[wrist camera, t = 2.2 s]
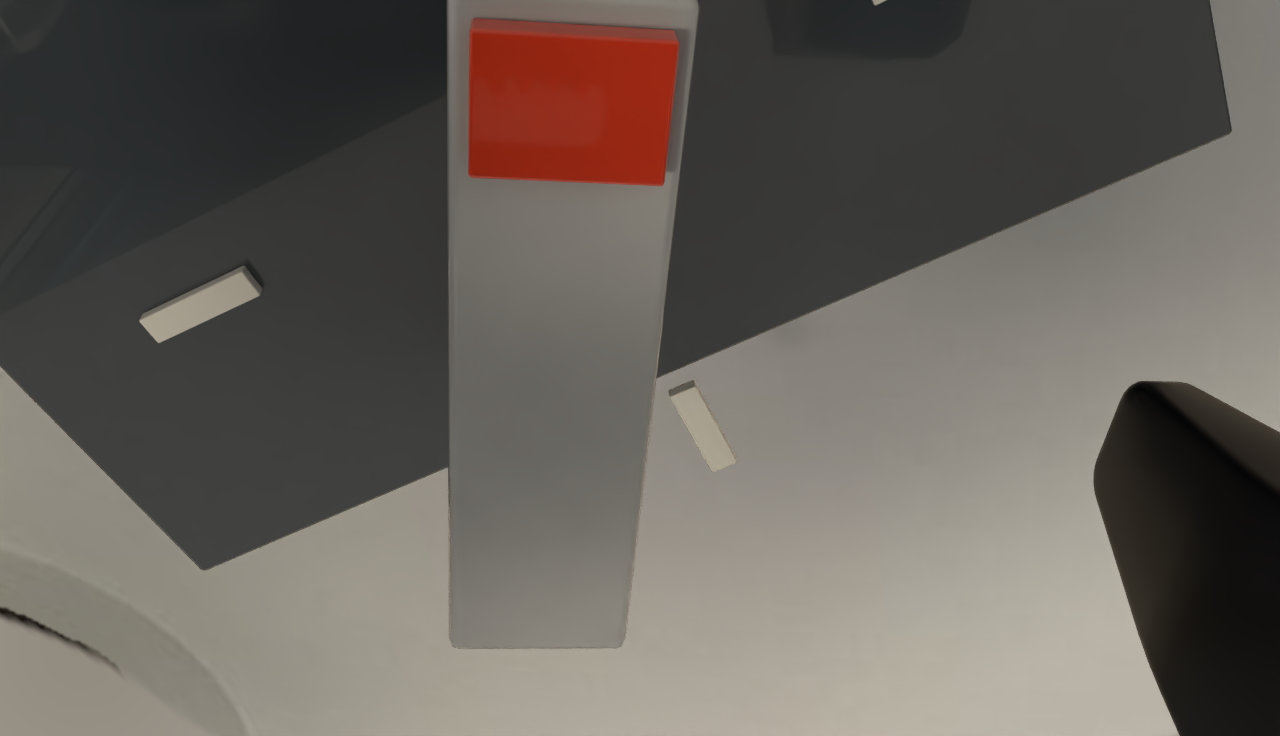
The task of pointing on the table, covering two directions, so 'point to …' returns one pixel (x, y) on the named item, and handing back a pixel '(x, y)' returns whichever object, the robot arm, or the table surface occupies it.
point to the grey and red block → (556, 304)
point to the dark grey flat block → (418, 219)
